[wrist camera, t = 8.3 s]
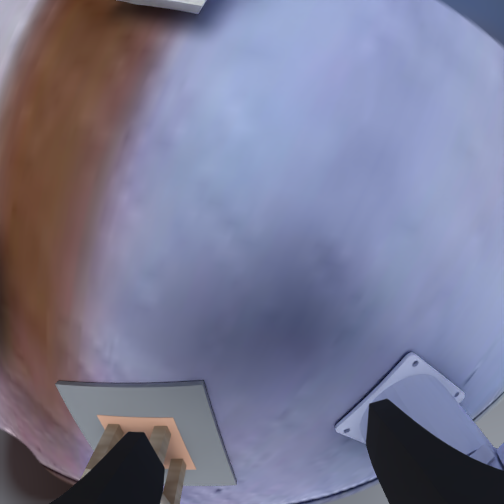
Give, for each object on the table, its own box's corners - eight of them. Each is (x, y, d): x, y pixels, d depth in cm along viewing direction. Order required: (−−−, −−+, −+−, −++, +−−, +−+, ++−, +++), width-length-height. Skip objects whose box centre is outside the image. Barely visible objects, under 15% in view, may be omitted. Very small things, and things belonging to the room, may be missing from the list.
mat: (203, 380, 18) (202, 385, 18) (236, 480, 21) (236, 485, 20) (58, 380, 18) (55, 384, 18) (115, 475, 21) (113, 479, 21)
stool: (167, 425, 19) (146, 495, 12) (186, 465, 20) (174, 528, 13) (108, 423, 19) (78, 483, 12) (131, 462, 20) (112, 519, 13)
